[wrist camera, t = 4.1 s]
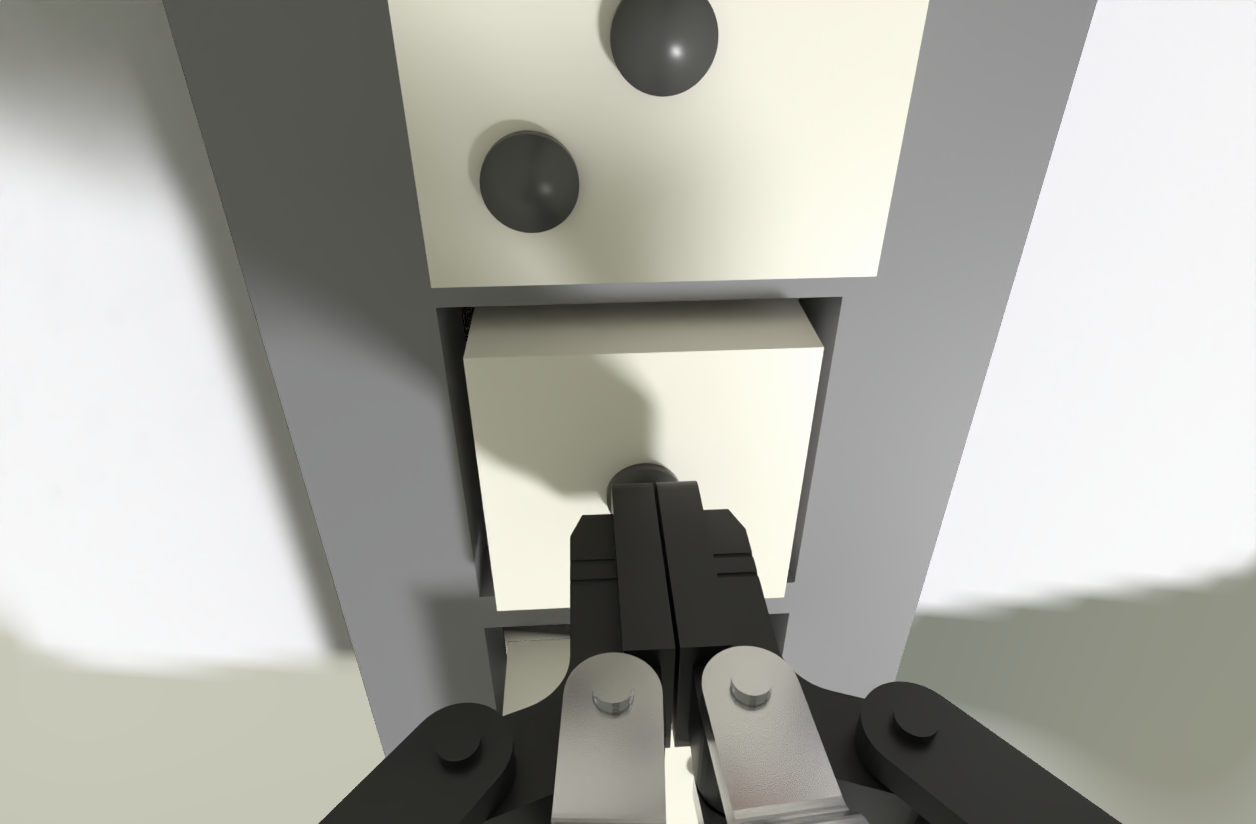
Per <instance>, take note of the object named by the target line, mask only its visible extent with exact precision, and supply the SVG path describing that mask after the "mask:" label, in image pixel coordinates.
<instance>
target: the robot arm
mask: <svg viewBox="0 0 1256 824" xmlns="http://www.w3.org/2000/svg"><path fill="white" fill-rule="evenodd" d="M671 724H672V730H673V739H674V747H687V746H690V748H691V755H692V762H693V769H694V778H693V792H692V793H693V801H694V805H695V810H696V815H697V820H698V824H1122V823H1120V822H1119V821H1118V820H1116V819H1115V818H1113V817H1112V816H1110V815H1109V814H1108V813H1106V812H1105V811H1103V810H1102V809H1101V808H1099V807H1098V806H1096V805H1095V804H1093V803H1092V802H1091V801H1089V800H1088V799H1086V798H1085V797H1083V796H1082V795H1081V794H1079V793H1078V792H1077V791H1075V790H1074V789H1072V788H1071V787H1070V786H1068V785H1067V784H1065V783H1064V782H1062V781H1061V780H1060V779H1058V778H1057V777H1055V776H1054V775H1053V774H1051V773H1050V772H1048V771H1047V770H1045V769H1044V768H1042V767H1041V766H1040V765H1038V764H1037V763H1036V762H1034V761H1033V760H1031V759H1030V758H1028V757H1027V756H1026V755H1024V754H1023V753H1021V752H1020V751H1019V750H1017V749H1016V748H1014V747H1013V746H1012V745H1010V744H1009V743H1007V742H1006V741H1005V740H1003V739H1001V738H1000V737H999V736H997V735H996V734H995V733H993V732H992V731H990V730H989V729H988V728H986V727H985V726H983V725H982V724H980V723H979V722H978V721H976V720H975V719H973V718H972V717H970V716H969V715H967V714H966V713H965V712H963V711H962V710H961V709H959V708H958V707H956V706H955V705H954V704H952V703H951V702H949V701H948V700H946V699H945V698H944V697H942V696H941V695H939V694H938V693H936V692H934V691H933V690H931V689H928V688H926V687H924V686H921V685H918V684H914V683H909V682H889V683H886V684H882V685H880V686H878V687H876V688H875V689H873V690H872V691H871V692H870V693H869V694H868V695H867V696H866V698H865V699H864V698H860V697H856V696H852V695H847V694H843V693H839V692H835V691H831V690H827V689H824V688H821V687H819V686H816V685H814V684H812V683H810V682H808V681H807V680H805V679H803V678H802V677H801V676H799V675H798V674H797V673H795V672H794V671H793V669H792V668H791V667H790V666H789V665H788V664H787V663H786V662H785V660H784V659H783V657H782V655H781V653H780V651H779V648H778V646H777V642H776V638H775V635H774V631H773V627H772V624H771V620H770V616H769V613H768V609H767V605H766V601H765V598H764V594H763V590H762V587H761V583H760V579H759V576H758V575H757V568H756V565H755V561H754V557H752V550H751V546H750V543H749V539H748V535H747V532H746V529H745V528H744V526H743V525H742V524H741V523H740V522H739V521H738V520H737V518H736V517H735V516H734V515H733V514H732V513H731V511H730V510H729V509H713V510H703V505H702V501H701V496H700V491H699V487H698V483H697V481H676V482H655V486H654V489H653V484H652V483H629V484H611V514H595V515H582V516H581V518H580V520H579V522H578V523H577V525H576V527H575V529H574V530H573V532H572V534H571V536H570V662H569V667H568V670H567V673H566V675H565V677H564V679H563V680H562V682H561V683H560V685H559V686H558V687H557V688H556V689H555V690H554V691H553V692H552V693H551V694H550V695H549V696H547V697H546V698H545V699H543V700H541V701H540V702H538V703H536V704H534V705H531V706H529V707H527V708H524V709H521V710H518V711H516V712H513V713H510V714H507V715H505V716H502V715H501V714H500V713H498V712H497V711H496V710H494V709H492V708H491V707H489V706H486V705H483V704H479V703H458V704H453V705H450V706H446V707H444V708H442V709H440V710H438V711H436V712H434V713H433V714H431V715H430V716H428V717H427V718H426V719H425V720H424V721H423V722H422V723H421V724H419V725H418V726H417V727H416V728H415V729H414V730H413V731H412V732H411V733H410V734H409V735H408V736H407V737H406V738H405V739H404V740H403V741H402V742H401V743H400V744H399V745H398V746H397V747H396V748H395V749H394V750H393V751H392V752H391V753H390V754H389V755H388V756H387V757H386V758H385V759H384V760H383V761H382V762H381V763H380V764H379V765H378V766H377V767H376V768H375V769H374V770H373V771H372V772H371V773H370V774H369V775H368V776H367V777H366V778H365V779H363V780H362V781H361V782H360V783H359V784H358V785H357V786H356V787H355V788H354V789H353V790H352V791H351V792H350V793H349V794H348V795H347V796H346V797H345V798H344V799H343V800H342V801H341V802H340V803H339V804H338V805H337V806H336V807H335V808H334V809H333V810H332V811H331V812H330V813H329V814H328V815H327V816H326V817H325V818H324V819H323V820H322V821H321V822H320V823H319V824H666V794H665V748H670V743H671Z"/></svg>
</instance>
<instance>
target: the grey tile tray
mask: <svg viewBox="0 0 1256 824" xmlns="http://www.w3.org/2000/svg"><path fill="white" fill-rule="evenodd" d="M162 1H163V4H164V8H165V11H166V14H167V18H168V21H169V25H170V28H171V31H172V35H173V38H174V42H175V45H176V48H177V52H178V55H179V59H180V62H181V65H182V69H183V72H184V76H185V79H186V82H187V86H188V89H189V92H190V96H191V99H192V103H193V106H194V109H195V113H196V116H197V120H198V123H199V126H200V130H201V133H202V137H203V140H204V143H205V147H206V150H207V154H208V157H209V160H210V164H211V167H212V171H213V174H214V177H215V181H216V184H217V188H218V191H219V194H220V198H221V201H222V205H223V208H224V211H225V215H226V218H227V221H228V225H229V228H230V232H231V235H232V238H233V242H234V245H235V249H236V252H237V255H238V259H239V262H240V266H241V269H242V272H243V276H244V279H245V283H246V286H247V289H248V293H249V296H250V300H251V303H252V306H253V310H254V313H255V317H256V320H257V323H258V327H259V330H260V334H261V337H262V340H263V344H264V347H265V350H266V354H267V357H268V361H269V364H270V367H271V371H272V374H273V378H274V381H275V384H276V388H277V391H278V395H279V398H280V401H281V405H282V408H283V412H284V415H285V418H286V422H287V425H288V429H289V432H290V435H291V439H292V442H293V446H294V449H295V452H296V456H297V459H298V463H299V466H300V469H301V473H302V476H303V479H304V483H305V486H306V490H307V493H308V496H309V500H310V503H311V507H312V510H313V513H314V517H315V520H316V524H317V527H318V530H319V534H320V537H321V541H322V544H323V547H324V551H325V554H326V558H327V561H328V564H329V568H330V571H331V575H332V578H333V581H334V585H335V588H336V592H337V595H338V598H339V602H340V605H341V608H342V612H343V615H344V619H345V622H346V625H347V629H348V632H349V636H350V639H351V642H352V646H353V649H354V653H355V656H356V659H357V663H358V666H359V670H360V673H361V676H362V680H363V683H364V687H365V690H366V693H367V697H368V700H369V703H370V707H371V710H372V714H373V717H374V721H375V724H376V727H377V730H378V734H379V737H380V741H381V744H382V748H383V751H384V754H385V758H386V757H387V756H388V755H389V754H390V753H391V752H392V751H393V750H394V749H395V748H396V747H397V746H398V745H399V744H400V743H401V742H402V741H403V740H404V739H405V738H406V737H407V736H408V735H409V734H410V733H411V732H412V731H413V730H414V729H415V728H416V727H417V726H418V725H419V724H421V723H422V722H423V721H424V720H425V719H426V718H427V717H428V716H430V715H431V714H433V713H434V712H436V711H438V710H440V709H442V708H444V707H446V706H450V705H453V704H458V703H479V704H483V705H486V706H489V707H491V708H492V709H494V710H496V711H497V712H498V713H500V714H501V715H503V703H504V690H505V678H506V666H507V654H506V646H505V639H504V631H503V627H514V626H535V625H556V624H570V608H551V609H530V610H509V611H497V606H496V599H495V591H494V584H493V576H492V569H491V561H490V554H489V546H488V539H487V532H486V524H485V517H484V509H483V502H482V494H481V487H480V480H479V472H478V465H477V457H476V450H475V442H474V435H473V428H472V420H471V413H470V405H469V398H468V390H467V383H466V375H465V368H464V361H463V357H464V353H465V348H466V340H465V333H464V325H463V317H462V310H461V307H481V306H518V305H555V304H591V303H628V302H665V301H702V300H738V299H775V298H799V303H800V305H801V307H802V309H803V310H804V312H805V314H806V316H807V318H808V319H809V321H810V323H811V325H812V327H813V328H814V330H815V332H816V334H817V336H818V337H819V339H820V341H821V343H822V345H823V346H824V351H823V357H822V364H821V370H820V376H819V382H818V389H817V395H816V401H815V407H814V414H813V420H812V426H811V432H810V439H809V445H808V451H807V457H806V464H805V470H804V476H803V482H802V489H801V495H800V501H799V507H798V514H797V520H796V526H795V532H794V539H793V545H792V551H791V558H790V564H789V570H788V576H787V583H786V589H785V595H784V597H782V598H765V601H766V605H767V609H768V613H769V616H770V620H771V624H772V627H773V631H774V635H775V638H776V642H777V646H778V648H779V651H780V653H781V655H782V657H783V659H784V660H785V662H786V663H787V664H788V665H789V666H790V667H791V668H792V669H793V671H794V672H795V673H797V674H798V675H799V676H801V677H802V678H803V679H805V680H807V681H808V682H810V683H812V684H814V685H816V686H819V687H821V688H824V689H827V690H831V691H835V692H839V693H843V694H847V695H852V696H856V697H860V698H864V699H865V698H866V696H867V695H868V694H869V693H870V692H871V691H872V690H873V689H875V688H876V687H878V686H880V685H882V684H886V683H889V682H894V681H895V678H896V675H897V671H898V668H899V664H900V661H901V658H902V654H903V651H904V648H905V644H906V641H907V638H908V634H909V631H910V628H911V624H912V621H913V618H914V614H915V611H916V607H917V604H918V601H919V597H920V594H921V591H922V587H923V584H924V581H925V577H926V574H927V571H928V567H929V564H930V560H931V557H932V554H933V550H934V547H935V544H936V540H937V537H938V534H939V530H940V527H941V524H942V520H943V517H944V513H945V510H946V507H947V503H948V500H949V497H950V493H951V490H952V487H953V483H954V480H955V477H956V473H957V470H958V466H959V463H960V460H961V456H962V453H963V450H964V446H965V443H966V440H967V436H968V433H969V429H970V426H971V423H972V419H973V416H974V413H975V409H976V406H977V403H978V399H979V396H980V393H981V389H982V386H983V382H984V379H985V376H986V372H987V369H988V366H989V362H990V359H991V356H992V352H993V349H994V346H995V342H996V339H997V335H998V332H999V329H1000V325H1001V322H1002V319H1003V315H1004V312H1005V309H1006V305H1007V302H1008V299H1009V295H1010V292H1011V288H1012V285H1013V282H1014V278H1015V275H1016V272H1017V268H1018V265H1019V262H1020V258H1021V255H1022V252H1023V248H1024V245H1025V241H1026V238H1027V235H1028V231H1029V228H1030V225H1031V221H1032V218H1033V215H1034V211H1035V208H1036V205H1037V201H1038V198H1039V194H1040V191H1041V188H1042V184H1043V181H1044V178H1045V174H1046V171H1047V168H1048V164H1049V161H1050V157H1051V154H1052V151H1053V147H1054V144H1055V141H1056V137H1057V134H1058V131H1059V127H1060V124H1061V121H1062V117H1063V114H1064V110H1065V107H1066V104H1067V100H1068V97H1069V94H1070V90H1071V87H1072V84H1073V80H1074V77H1075V74H1076V70H1077V67H1078V63H1079V60H1080V57H1081V53H1082V50H1083V47H1084V43H1085V40H1086V37H1087V33H1088V30H1089V27H1090V23H1091V20H1092V16H1093V13H1094V10H1095V6H1096V3H1097V0H929V4H928V10H927V15H926V20H925V25H924V31H923V36H922V41H921V46H920V51H919V57H918V62H917V67H916V72H915V78H914V83H913V88H912V93H911V98H910V104H909V109H908V114H907V119H906V125H905V130H904V135H903V140H902V145H901V151H900V156H899V161H898V166H897V172H896V177H895V182H894V187H893V193H892V198H891V203H890V208H889V213H888V219H887V224H886V229H885V234H884V240H883V245H882V250H881V255H880V260H879V266H878V271H877V276H875V277H836V278H798V279H759V280H720V281H682V282H643V283H605V284H566V285H527V286H489V287H450V288H431V283H430V276H429V269H428V263H427V256H426V250H425V243H424V237H423V230H422V223H421V217H420V210H419V204H418V197H417V190H416V184H415V177H414V171H413V164H412V158H411V151H410V144H409V138H408V131H407V125H406V118H405V111H404V105H403V98H402V92H401V85H400V78H399V72H398V65H397V59H396V52H395V46H394V39H393V32H392V26H391V19H390V13H389V6H388V0H162Z"/></svg>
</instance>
